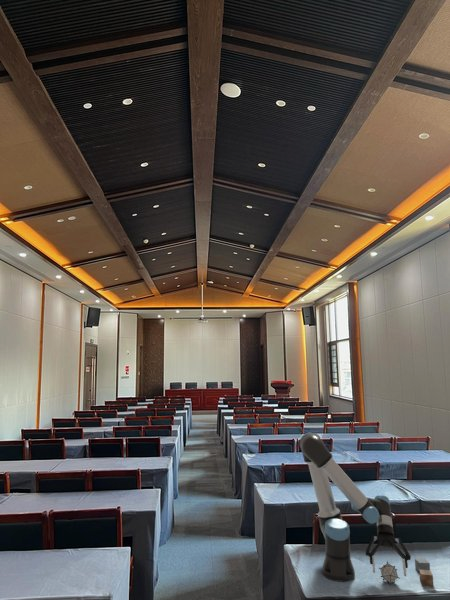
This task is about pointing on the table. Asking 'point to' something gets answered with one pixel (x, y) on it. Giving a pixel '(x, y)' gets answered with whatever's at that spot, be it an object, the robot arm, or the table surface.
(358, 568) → the table surface
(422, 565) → the slate block
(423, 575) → the walnut block
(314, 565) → the table surface
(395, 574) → the spiky ball
